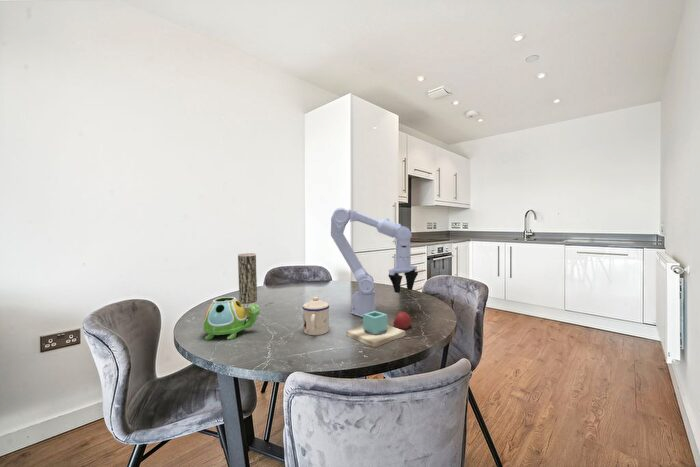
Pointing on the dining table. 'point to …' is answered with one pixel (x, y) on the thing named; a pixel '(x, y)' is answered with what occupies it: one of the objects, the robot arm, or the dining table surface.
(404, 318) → the fruit
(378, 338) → the post base
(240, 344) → the dining table surface
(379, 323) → the collar
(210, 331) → the turtle holder
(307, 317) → the teacup with lid
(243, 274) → the bark log
